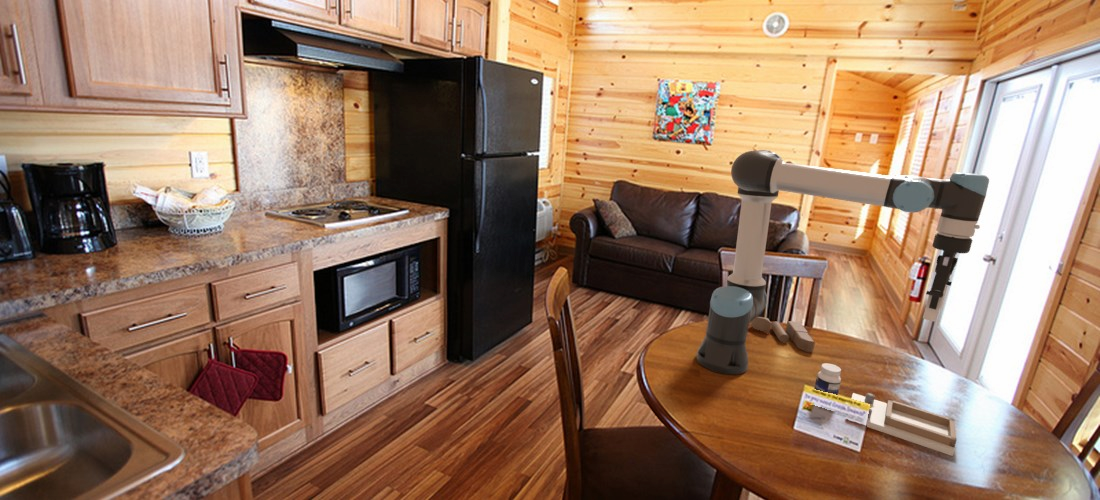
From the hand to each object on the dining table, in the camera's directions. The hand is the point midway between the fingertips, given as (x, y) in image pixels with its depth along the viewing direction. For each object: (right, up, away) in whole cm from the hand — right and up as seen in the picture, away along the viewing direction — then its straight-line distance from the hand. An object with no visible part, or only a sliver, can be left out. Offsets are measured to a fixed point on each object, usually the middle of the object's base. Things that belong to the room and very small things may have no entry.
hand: (932, 313), depth 132 cm
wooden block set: (-19, -15, +45) cm, 51 cm away
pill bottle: (-25, -25, +6) cm, 36 cm away
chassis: (-11, -28, -4) cm, 30 cm away
